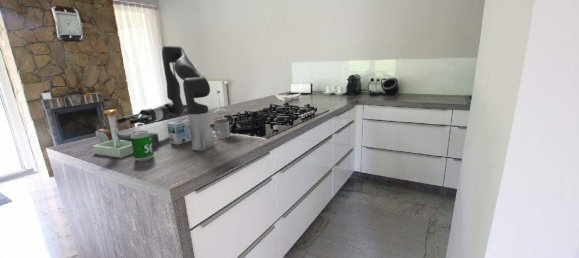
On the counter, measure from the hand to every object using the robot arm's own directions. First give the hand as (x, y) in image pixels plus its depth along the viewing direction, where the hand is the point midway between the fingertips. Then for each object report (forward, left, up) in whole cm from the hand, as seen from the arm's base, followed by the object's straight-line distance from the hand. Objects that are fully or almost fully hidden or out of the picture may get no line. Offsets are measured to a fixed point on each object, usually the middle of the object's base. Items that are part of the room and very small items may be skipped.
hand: (123, 121), depth 133 cm
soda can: (-21, +9, -14) cm, 27 cm away
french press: (-34, -32, -14) cm, 49 cm away
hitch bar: (0, -5, -13) cm, 14 cm away
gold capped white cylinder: (0, +5, -12) cm, 14 cm away
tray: (0, +6, -13) cm, 15 cm away
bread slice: (+18, -1, -14) cm, 23 cm away
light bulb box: (-18, -17, -14) cm, 28 cm away
